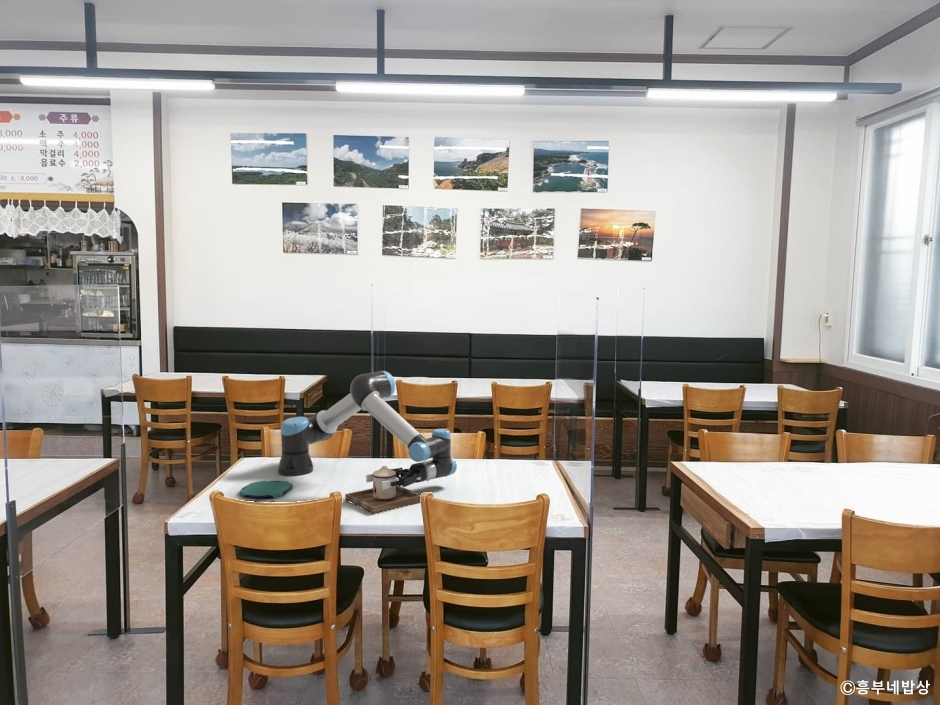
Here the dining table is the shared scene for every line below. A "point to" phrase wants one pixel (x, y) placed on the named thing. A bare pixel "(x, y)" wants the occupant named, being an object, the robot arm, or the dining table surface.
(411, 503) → the walnut tray
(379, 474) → the teacup with lid
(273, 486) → the green cloth
